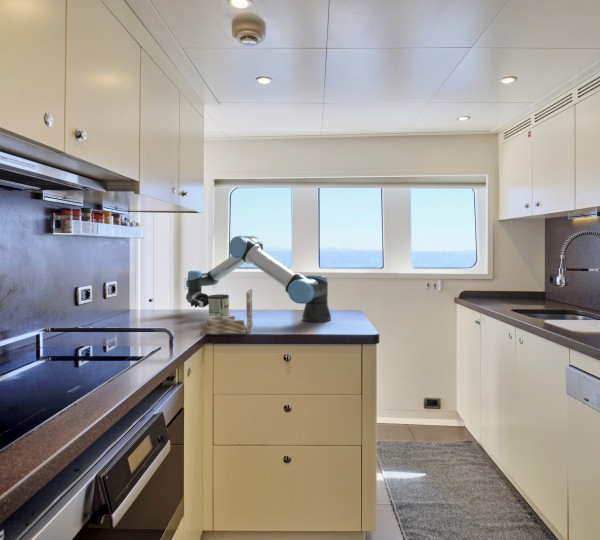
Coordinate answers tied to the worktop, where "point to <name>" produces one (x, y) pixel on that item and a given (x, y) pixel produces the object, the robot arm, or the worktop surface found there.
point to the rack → (249, 318)
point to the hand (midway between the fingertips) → (215, 303)
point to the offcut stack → (223, 323)
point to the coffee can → (218, 305)
